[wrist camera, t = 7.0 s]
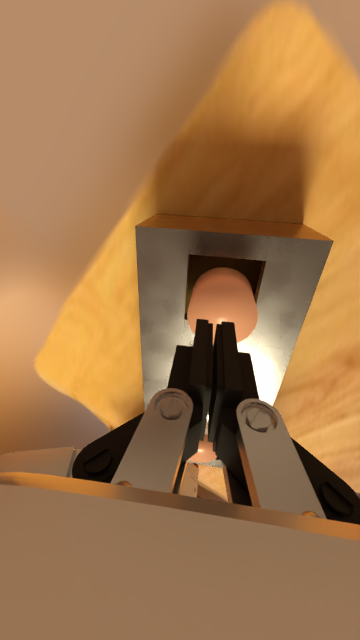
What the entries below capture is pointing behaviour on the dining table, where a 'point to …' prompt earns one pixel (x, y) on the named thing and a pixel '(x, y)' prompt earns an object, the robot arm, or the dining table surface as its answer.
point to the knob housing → (271, 298)
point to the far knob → (204, 452)
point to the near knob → (223, 301)
